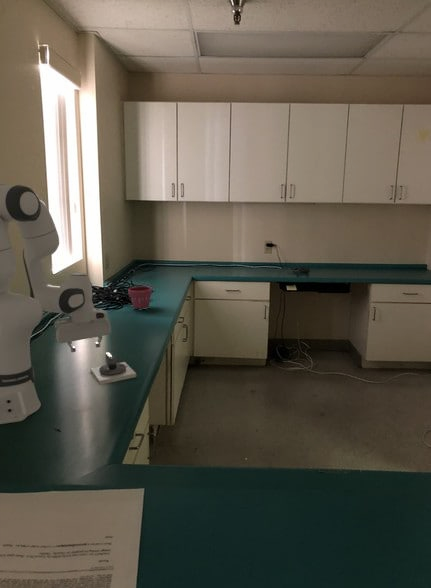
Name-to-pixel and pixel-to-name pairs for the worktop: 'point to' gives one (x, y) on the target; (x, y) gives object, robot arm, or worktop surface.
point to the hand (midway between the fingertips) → (85, 349)
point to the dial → (112, 366)
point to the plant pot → (140, 296)
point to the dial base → (112, 378)
